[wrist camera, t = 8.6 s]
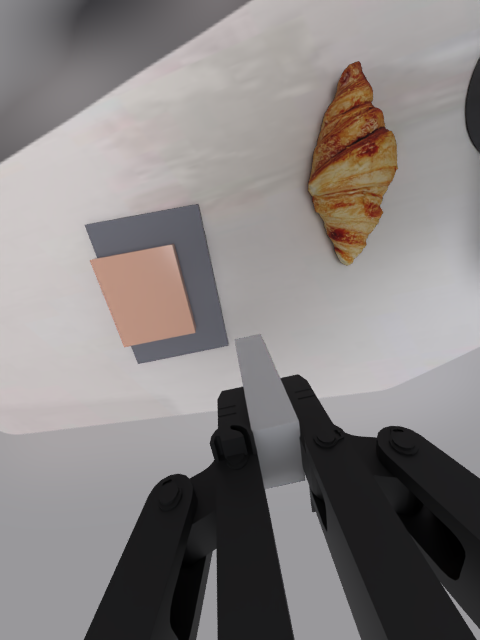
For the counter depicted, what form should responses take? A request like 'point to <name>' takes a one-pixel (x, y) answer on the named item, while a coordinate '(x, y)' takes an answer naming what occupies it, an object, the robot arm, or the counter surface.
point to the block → (145, 294)
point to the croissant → (352, 165)
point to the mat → (195, 266)
